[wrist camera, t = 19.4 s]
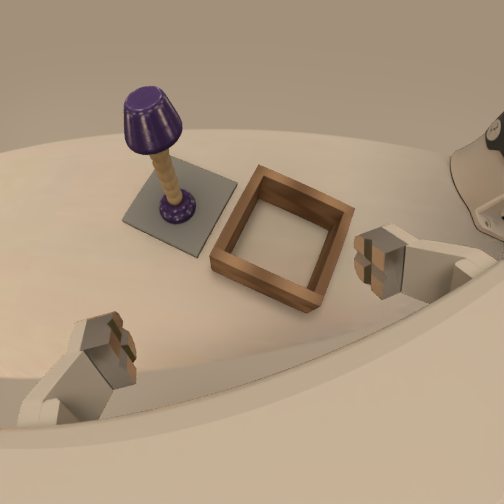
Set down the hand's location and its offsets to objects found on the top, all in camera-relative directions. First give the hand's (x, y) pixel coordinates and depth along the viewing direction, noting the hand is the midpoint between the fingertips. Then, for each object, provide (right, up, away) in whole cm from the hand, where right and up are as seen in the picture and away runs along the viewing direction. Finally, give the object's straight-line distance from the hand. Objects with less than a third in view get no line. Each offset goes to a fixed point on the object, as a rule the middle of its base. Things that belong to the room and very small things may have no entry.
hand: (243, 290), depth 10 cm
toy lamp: (-8, +7, +24) cm, 27 cm away
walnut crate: (+3, +2, +24) cm, 24 cm away
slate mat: (-8, +7, +25) cm, 27 cm away
